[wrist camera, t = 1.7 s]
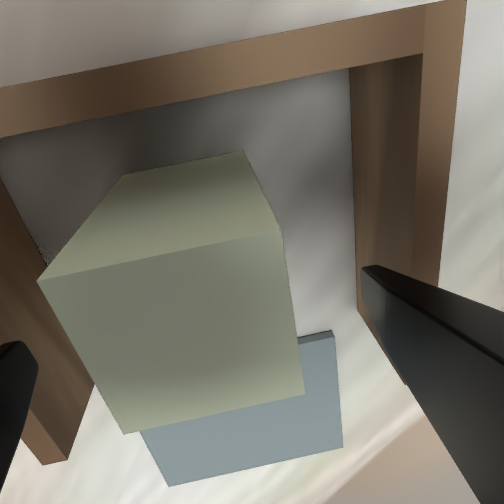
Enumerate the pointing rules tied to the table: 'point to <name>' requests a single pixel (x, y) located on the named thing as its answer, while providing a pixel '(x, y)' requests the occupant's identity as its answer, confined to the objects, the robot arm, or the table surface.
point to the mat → (257, 426)
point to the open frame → (236, 78)
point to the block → (180, 295)
